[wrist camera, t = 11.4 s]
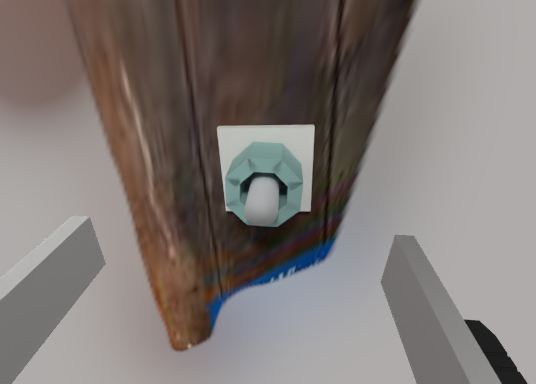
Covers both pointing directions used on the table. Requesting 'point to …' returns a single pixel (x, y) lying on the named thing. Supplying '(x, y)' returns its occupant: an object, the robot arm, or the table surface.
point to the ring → (265, 161)
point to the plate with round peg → (268, 184)
